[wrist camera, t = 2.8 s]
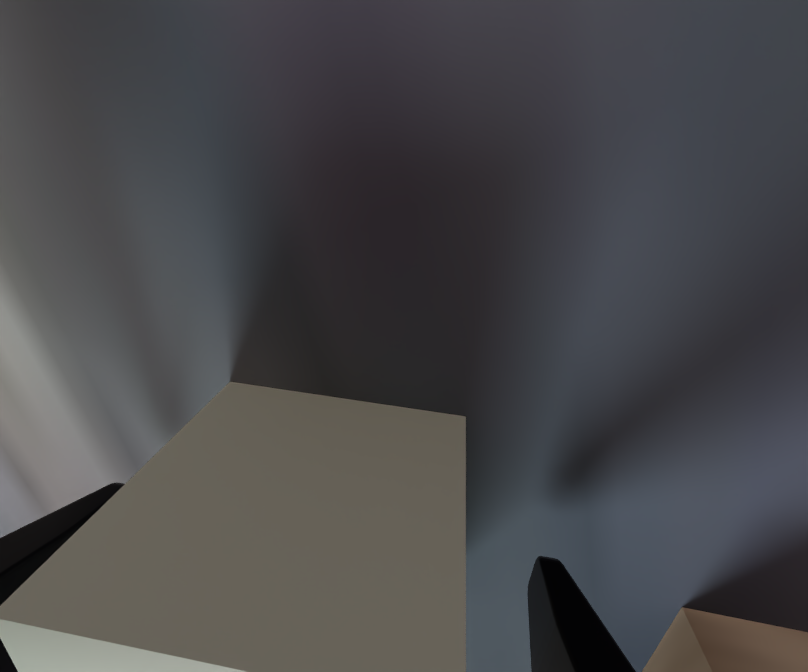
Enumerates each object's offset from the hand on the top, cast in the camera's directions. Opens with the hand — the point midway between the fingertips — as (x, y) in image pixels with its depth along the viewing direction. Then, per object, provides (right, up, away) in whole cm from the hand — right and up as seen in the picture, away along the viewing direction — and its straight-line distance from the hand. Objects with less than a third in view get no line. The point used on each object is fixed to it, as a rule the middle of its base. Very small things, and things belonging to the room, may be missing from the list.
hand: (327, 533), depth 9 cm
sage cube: (0, 0, +1) cm, 1 cm away
